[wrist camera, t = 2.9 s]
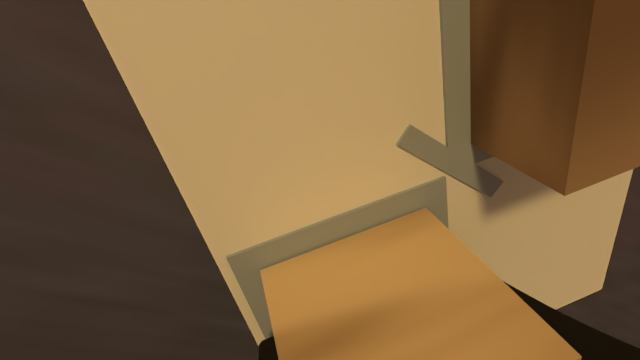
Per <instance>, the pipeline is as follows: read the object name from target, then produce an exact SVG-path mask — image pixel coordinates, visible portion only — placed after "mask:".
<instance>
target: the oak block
mask: <svg viewBox="0 0 640 360" xmlns="http://www.w3.org/2000/svg"><path fill="white" fill-rule="evenodd" d="M260 273H261V278H262V283H263V287H264V292H265V297H266V302H267V306H268V311H269V316H270V320H271V325H272V330H273V335H274V339H275V344H276V349H277V354H278V358H279V360H581V358H582V356H581V355H580V354H579V353H578V352H577V351H575V350H574V349H573V348H572V347H571V346H570V345H569V344H568V343H567V342H566V341H565V340H564V339H563V338H562V337H561V336H560V335H559V334H558V333H557V332H556V331H555V330H554V329H552V328H551V327H550V326H549V325H548V324H547V323H546V322H545V321H544V320H543V319H542V318H541V317H540V316H539V315H538V314H537V313H536V312H535V311H534V310H533V309H532V308H530V307H529V306H528V305H527V304H526V303H525V302H524V301H523V300H522V299H521V298H520V297H519V296H518V295H517V294H516V293H515V292H514V291H513V290H512V289H511V288H510V287H509V286H507V285H506V284H505V283H504V282H503V281H502V280H501V279H500V278H499V277H498V276H497V275H496V274H495V273H494V272H493V271H492V270H491V269H490V268H489V267H488V266H487V265H486V264H484V263H483V262H482V261H481V260H480V259H479V258H478V257H477V256H476V255H475V254H474V253H473V252H472V251H471V250H470V249H469V248H468V247H467V246H466V245H465V244H464V243H463V242H461V241H460V240H459V239H458V238H457V237H456V236H455V235H454V234H453V233H452V232H451V231H450V230H449V229H448V228H447V227H446V226H445V225H444V224H443V223H442V222H441V221H440V220H438V219H437V218H436V217H435V216H434V215H433V214H432V213H431V212H430V211H429V210H428V209H427V208H423V209H421V210H418V211H415V212H413V213H410V214H408V215H405V216H402V217H400V218H397V219H394V220H392V221H389V222H386V223H384V224H381V225H378V226H376V227H373V228H371V229H368V230H365V231H363V232H360V233H357V234H355V235H352V236H349V237H347V238H344V239H342V240H339V241H336V242H334V243H331V244H328V245H326V246H323V247H320V248H318V249H315V250H312V251H310V252H307V253H305V254H302V255H299V256H297V257H294V258H291V259H289V260H286V261H283V262H281V263H278V264H276V265H273V266H270V267H268V268H265V269H262V270H260Z"/></svg>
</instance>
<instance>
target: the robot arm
mask: <svg viewBox="0 0 640 360" xmlns="http://www.w3.org/2000/svg"><path fill="white" fill-rule="evenodd" d="M503 282H504V281H503ZM504 283H505V284H506V285H507V286H509V287H510V288H511V289H512V290H513V291H514V292H515V293H516V294H517V295H518V296H519V297H520V298H521V299H522V300H523V301H524V302H525V303H526V304H527V305H528V306H529V307H530V308H532V309H533V310H534V311H535V312H536V313H537V314H538V315H539V316H540V317H541V318H542V319H543V320H544V321H545V322H546V323H547V324H548V325H549V326H550V327H551V328H552V329H554V330H555V331H556V332H557V333H558V334H559V335H560V336H561V337H562V338H563V339H564V340H565V341H566V342H567V343H568V344H569V345H570V346H571V347H572V348H573V349H574V350H575V351H577V352H578V353H579V354H580V355H581V356H582V358H581V360H640V349H639V348H637V347H635V346H632V345H630V344H628V343H625V342H623V341H621V340H618V339H616V338H614V337H611V336H609V335H607V334H605V333H603V332H600V331H598V330H596V329H594V328H592V327H590V326H588V325H585V324H583V323H581V322H579V321H577V320H575V319H573V318H571V317H569V316H567V315H565V314H563V313H561V312H559V311H557V310H555V309H553V308H551V307H550V306H548V305H546V304H544V303H542V302H540V301H538V300H537V299H535V298H533V297H531V296H529V295H527V294H525V293H524V292H522V291H520V290H518V289H516V288H515V287H513V286H511V285H509V284H508V283H506V282H504ZM259 360H279V358H278V354H277V349H276V344H275V339H274V336H272V337H270V338H267V339H265V340H262V341H261V343H260V344H259Z"/></svg>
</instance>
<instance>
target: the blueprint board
mask: <svg viewBox="0 0 640 360" xmlns="http://www.w3.org/2000/svg"><path fill="white" fill-rule="evenodd" d="M83 1H84V3H85V5H86V7H87V9H88V11H89V13H90V15H91V17H92V19H93V21H94V23H95V25H96V27H97V29H98V31H99V33H100V35H101V37H102V39H103V41H104V43H105V45H106V47H107V49H108V51H109V53H110V55H111V57H112V58H113V60H114V62H115V64H116V66H117V68H118V70H119V72H120V74H121V76H122V78H123V80H124V82H125V84H126V86H127V88H128V90H129V92H130V94H131V96H132V98H133V100H134V102H135V104H136V106H137V108H138V110H139V112H140V114H141V116H142V118H143V120H144V122H145V123H146V125H147V127H148V129H149V131H150V133H151V135H152V137H153V139H154V141H155V143H156V145H157V147H158V149H159V151H160V153H161V155H162V157H163V159H164V161H165V163H166V165H167V167H168V169H169V171H170V173H171V175H172V177H173V179H174V181H175V183H176V185H177V186H178V188H179V190H180V192H181V194H182V196H183V198H184V200H185V202H186V204H187V206H188V208H189V210H190V212H191V214H192V216H193V218H194V220H195V222H196V224H197V226H198V228H199V230H200V232H201V234H202V236H203V238H204V240H205V242H206V244H207V246H208V248H209V250H210V251H211V253H212V255H213V257H214V259H215V261H216V263H217V265H218V267H219V269H220V271H221V273H222V275H223V277H224V279H225V281H226V283H227V285H228V287H229V289H230V291H231V293H232V295H233V297H234V299H235V301H236V303H237V305H238V307H239V309H240V311H241V313H242V315H243V316H244V318H245V320H246V322H247V324H248V326H249V328H250V330H251V332H252V334H253V336H254V338H255V340H256V342H257V344H258V346H259V344H260V343H261V341H262V340H265V339H267V338H270V337H272V336H274V335H273V330H272V325H271V320H270V316H269V311H268V306H267V302H266V297H265V292H264V287H263V283H262V278H261V273H260V270H262V269H265V268H268V267H270V266H273V265H276V264H278V263H281V262H283V261H286V260H289V259H291V258H294V257H297V256H299V255H302V254H305V253H307V252H310V251H312V250H315V249H318V248H320V247H323V246H326V245H328V244H331V243H334V242H336V241H339V240H342V239H344V238H347V237H349V236H352V235H355V234H357V233H360V232H363V231H365V230H368V229H371V228H373V227H376V226H378V225H381V224H384V223H386V222H389V221H392V220H394V219H397V218H400V217H402V216H405V215H408V214H410V213H413V212H415V211H418V210H421V209H423V208H427V209H428V210H429V211H430V212H431V213H432V214H433V215H434V216H435V217H436V218H437V219H438V220H440V221H441V222H442V223H443V224H444V225H445V226H446V227H447V228H448V229H449V230H450V231H451V232H452V233H453V234H454V235H455V236H456V237H457V238H458V239H459V240H460V241H461V242H463V243H464V244H465V245H466V246H467V247H468V248H469V249H470V250H471V251H472V252H473V253H474V254H475V255H476V256H477V257H478V258H479V259H480V260H481V261H482V262H483V263H484V264H486V265H487V266H488V267H489V268H490V269H491V270H492V271H493V272H494V273H495V274H496V275H497V276H498V277H499V278H500V279H501V280H502V281H504V282H506V283H508V284H509V285H511V286H513V287H515V288H516V289H518V290H520V291H522V292H524V293H525V294H527V295H529V296H531V297H533V298H535V299H537V300H538V301H540V302H542V303H544V304H546V305H548V306H550V307H551V308H553V309H555V310H556V309H558V308H560V307H563V306H565V305H567V304H569V303H572V302H574V301H576V300H578V299H581V298H583V297H585V296H587V295H590V294H592V293H594V292H596V291H598V290H601V289H602V286H603V283H604V279H605V275H606V271H607V267H608V263H609V260H610V256H611V252H612V248H613V244H614V241H615V237H616V233H617V229H618V225H619V221H620V218H621V214H622V210H623V206H624V202H625V199H626V195H627V191H628V187H629V183H630V179H631V176H632V172H633V169H632V170H629V171H627V172H624V173H621V174H619V175H616V176H614V177H611V178H609V179H606V180H604V181H601V182H599V183H596V184H594V185H591V186H589V187H586V188H584V189H581V190H579V191H576V192H574V193H571V194H568V195H566V196H563V195H562V194H560V193H558V192H556V191H555V190H553V189H551V188H549V187H547V186H546V185H544V184H542V183H540V182H539V181H537V180H535V179H533V178H531V177H530V176H528V175H526V174H524V173H523V172H521V171H519V170H517V169H515V168H514V167H512V166H510V165H508V164H507V163H505V162H503V161H501V160H499V159H498V158H496V157H494V156H492V155H491V154H489V153H487V152H485V151H483V150H482V149H480V148H478V147H476V146H475V145H473V144H471V112H470V0H83Z"/></svg>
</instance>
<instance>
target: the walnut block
mask: <svg viewBox="0 0 640 360" xmlns="http://www.w3.org/2000/svg"><path fill="white" fill-rule="evenodd" d="M470 112H471V144H473V145H475V146H476V147H478V148H480V149H482V150H483V151H485V152H487V153H489V154H491V155H492V156H494V157H496V158H498V159H499V160H501V161H503V162H505V163H507V164H508V165H510V166H512V167H514V168H515V169H517V170H519V171H521V172H523V173H524V174H526V175H528V176H530V177H531V178H533V179H535V180H537V181H539V182H540V183H542V184H544V185H546V186H547V187H549V188H551V189H553V190H555V191H556V192H558V193H560V194H562V195H563V196H566V195H568V194H571V193H574V192H576V191H579V190H581V189H584V188H586V187H589V186H591V185H594V184H596V183H599V182H601V181H604V180H606V179H609V178H611V177H614V176H616V175H619V174H621V173H624V172H627V171H629V170H632V169H634V168H637V167H639V166H640V0H470Z"/></svg>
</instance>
